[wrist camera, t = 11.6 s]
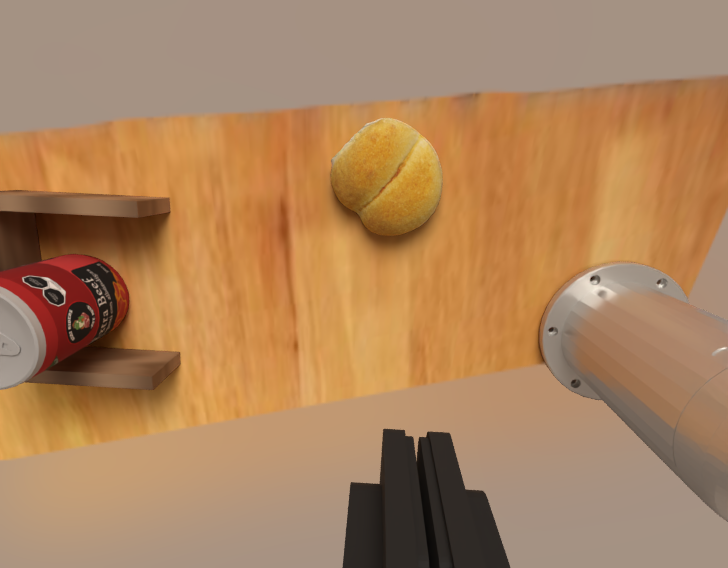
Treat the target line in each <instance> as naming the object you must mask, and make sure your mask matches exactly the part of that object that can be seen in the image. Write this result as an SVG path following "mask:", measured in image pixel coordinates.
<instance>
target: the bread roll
mask: <svg viewBox="0 0 728 568" xmlns="http://www.w3.org/2000/svg"><path fill="white" fill-rule="evenodd" d="M331 162H332V170H331V184H332V187H333V189H334V192H335V194H336V196H337V197H338V199H339V201H340V202H341V203H342V204H343V205H344V206H345V207H347V208H349V209H350V210H352V211H355V212H356V213H357V214H358V215H359V216H360V218H361V221H362V223H363V224H364V226H365V227H366V228H367V229H368V230H370V231H371V232H373V233H375V234H379V235H400V234H404V233H407V232H409V231H412V230H414V229H416V228H418V227H420V226H421V225H422V224H424V223H425V222H426V221H427V220H428V219H429V218H430V217H431V215H432V214H433V213H434V212H435V210H436V207H437V205H438V203H439V200H440V197H441V192H442V185H443V179H442V169H441V165H440V161H439V158H438V155H437V153H436V151H435V149H434V148H433V147H432V145H431V144H430V143H429V141H428V140H427V139H426V138H424V137H423V136H422V135H421V134H420V133H418V132H417V131H416V130H415V129H413V128H412V127H411V126H409V125H407V124H405V123H403V122H401V121H398V120H396V119H392V118H382V119H378V120H376V121H373V122H370V123H367V124H366V125H365V126H364V127H363V128H362V129H361V130H360V131H359V132H358V133H357V134H355V135H354V136H353V137H352V139H351V140H350V141H349V142H348V143H346V144H345V146H344V147H343V148H342V149H341V150H340V151H339V152H338V153H337V154H336V156H334V157H333V158H332V160H331Z"/></svg>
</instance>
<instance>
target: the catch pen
mask: <svg viewBox="0 0 728 568" xmlns="http://www.w3.org/2000/svg"><path fill="white" fill-rule="evenodd" d="M34 212H35V213H55V214H75V215H94V216H114V217H134V218H139V217H145V216H151V215H156V214H162V213H168V212H170V202H169V198H163V197H143V196H123V195H103V194H82V193H62V192H42V191H22V190H12V191H0V271H2V270H6V269H10V268H14V267H18V266H22V265H26V264H30V263H34V262H39V261H41V254H40V247H39V240H38V234H37V227H36V220H35V213H34ZM179 365H180V352H169V351H151V350H134V349H117V348H99V347H84V348H82V349H81V350H79V351H77V352H75V353H74V354H72V355H70V356H69V357H67V358H65V359H64V360H62V361H60V362H59V363H57V364H55V365H54V366H52V367H50V368H49V369H47V370H45V371H43V372H42V373H40V374H38V375H36V376H34V377H33V378H31V379H29V380H27V381H26V382H29V383H46V384H62V385H79V386H96V387H112V388H129V389H146V390H154V389H155V388H156V387H157V386H158V385H159V384H160V383H161V382H162V381H163V380H164V379H165V378H166V377H167V376H168V375H169V374H170V373H171V372H173V371H174V370H175V369H176V368H177V367H178V366H179Z"/></svg>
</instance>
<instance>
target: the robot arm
mask: <svg viewBox="0 0 728 568" xmlns="http://www.w3.org/2000/svg"><path fill="white" fill-rule="evenodd" d="M592 276H593V278H592V279H591V280H590V278H591V277H592ZM551 327H552V328H551ZM550 328H551V330H549V329H550ZM548 330H549V331H548ZM539 344H540V349H541V353H542V357H543V359H544V361H545V363H546V365H547V367H548V368H549V370H550V371H551V373H552V374H553V375H554V376H555V377H556V378H557V380H558V381H560V383H561V384H562V385H564V386H565V387H566V388H568V389H569V390H571V391H572V392H574V393H577V394H579V395H581V396H583V397H587V398H591V399H596V400H603V401H604V402H605V403H606V404H607V405H608V406H609V407H610V408H611V409H612V410H613V411H614V412H615V413H616V414H617V415H618V416H619V417H620V418H621V419H622V420H623V421H624V422H625V423H626V424H627V425H628V426H629V427H630V428H631V429H632V430H633V431H634V433H636V435H637V436H638V437H639V438H640V439H641V440H642V441H643V442H645V444H646V445H647V446H649V448H650V449H651V450H652V451H653V452H654V453H655V454H656V455H657V456H658V457H659V458H660V459H661V460H663V462H664V463H665V464H666V465H667V466H668V467H669V468H670V469H671V470H672V471H673V472H674V473H675V474H676V475H677V476H678V477H679V478H680V479H681V480H682V481H683V482H684V483H685V484H686V485H687V486H688V487H689V488H690V489H691V490H692V491H693V492H694V493H695V494H696V495H697V496H698V497H699V498H700V499H701V500H702V501H703V502H704V503H705V504H706V505H707V506H709V507H710V508H711V509H712V510H713V511H714V512H715V513H717V514H718V515H719V516H720V517H722V518H723V519H725V520H726V521H727V522H728V320H726V319H724V318H721V317H719V316H717V315H714V314H712V313H709V312H707V311H705V310H702V309H700V308H697V307H695V306H692V305H690V304H689V301H688V299H687V297H686V295H685V293H684V292H683V290H682V289H681V287H680V286H679V285H678V284H677V283H676V282H675V281H674V280H673V279H672V278H671V277H669V276H668V275H666V274H664V273H663V272H661V271H659V270H657V269H654V268H652V267H649V266H646V265H642V264H638V263H634V262H612V263H604V264H601V265H598V266H595V267H591V268H589V269H587V270H585V271H583V272H581V273H579V274H577V275H576V276H574V277H573V278H572V279H570V280H569V281H568V282H566V283H565V284H564V285H563V286H562V287H561V288H560V289H559V290H558V291H557V293H556V294H555V295H554V296H553V298H552V299H551V301H550V302H549V304H548V306H547V308H546V310H545V313H544V315H543V317H542V321H541V326H540V331H539ZM343 568H510V565H509V562H508V559H507V556H506V553H505V550H504V547H503V544H502V541H501V538H500V535H499V532H498V529H497V526H496V523H495V520H494V517H493V514H492V511H491V508H490V505H489V502H488V499H487V497H486V494H485V493H484V492H483V491H478V490H477V491H476V490H465V486H464V483H463V479H462V475H461V472H460V468H459V465H458V461H457V457H456V453H455V450H454V446H453V442H452V439H451V435H450V433H443V432H427V436H426V437H419V441H418V452H417V463H416V455H415V447H414V439H413V437H412V436H405V430H395V429H394V430H393V429H383V442H382V457H381V472H380V484H369V483H353V482H351V485H350V495H349V506H348V517H347V527H346V538H345V548H344V559H343Z"/></svg>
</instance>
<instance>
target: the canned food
mask: <svg viewBox="0 0 728 568" xmlns="http://www.w3.org/2000/svg"><path fill="white" fill-rule="evenodd" d="M128 306H129V294H128V290H127V287H126V285H125V283H124V281H123V279H122V278H121V276H120V275H119V274H118V272H117V271H116V270H115V269H113V268H112V267H111V266H110V265H108V264H107V263H105V262H104V261H102V260H100V259H98V258H95V257H91V256H87V255H78V254H69V255H63V256H59V257H55V258H51V259H47V260H43V261H39V262H34V263H30V264H26V265H22V266H18V267H14V268H10V269H6V270H2V271H0V390H1V389H8V388H11V387H14V386H17V385H18V384H21V383H24V382H26V381H27V380H29V379H31V378H33V377H34V376H36V375H38V374H40V373H42V372H43V371H45V370H47V369H49V368H50V367H52V366H54V365H55V364H57V363H59V362H60V361H62V360H64V359H65V358H67V357H69V356H70V355H72V354H74V353H75V352H77V351H79V350H81V349H82V348H84V347H86V346H87V345H89V344H91V343H92V342H94V341H96V340H97V339H99V338H101V337H102V336H104V335H106V334H108V333H109V332H111V331H113V330H114V329H115V328H116V327H117V326H118V325H119V324H120V323H121V321H122V320H123V318H124V317H125V315H126V313H127V310H128Z"/></svg>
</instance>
